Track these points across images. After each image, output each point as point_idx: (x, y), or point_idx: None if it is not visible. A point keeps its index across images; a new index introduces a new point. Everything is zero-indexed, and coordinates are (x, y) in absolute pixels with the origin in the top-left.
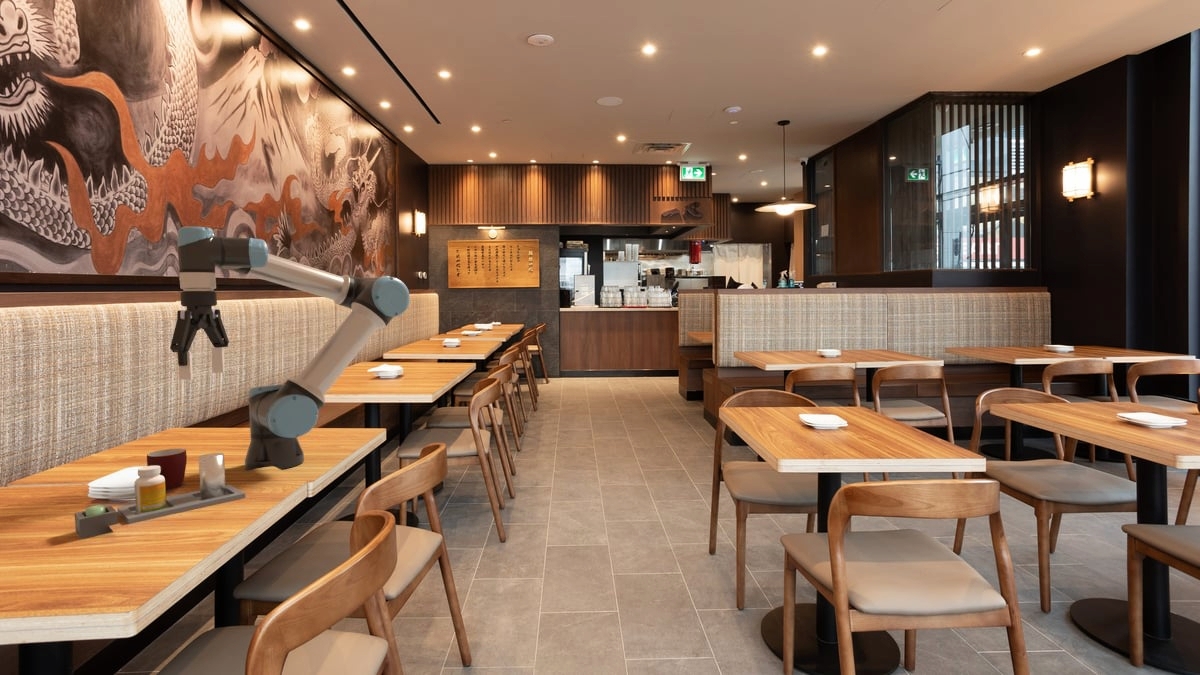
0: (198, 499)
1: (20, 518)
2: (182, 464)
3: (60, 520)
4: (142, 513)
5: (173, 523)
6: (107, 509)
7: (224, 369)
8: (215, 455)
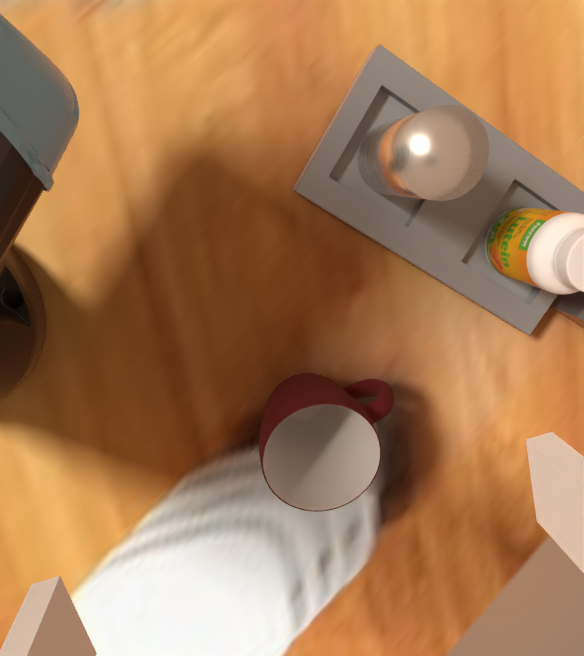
0: None
1: (521, 545)
2: (308, 386)
3: None
4: None
5: (538, 141)
6: None
7: (23, 605)
8: (441, 137)
